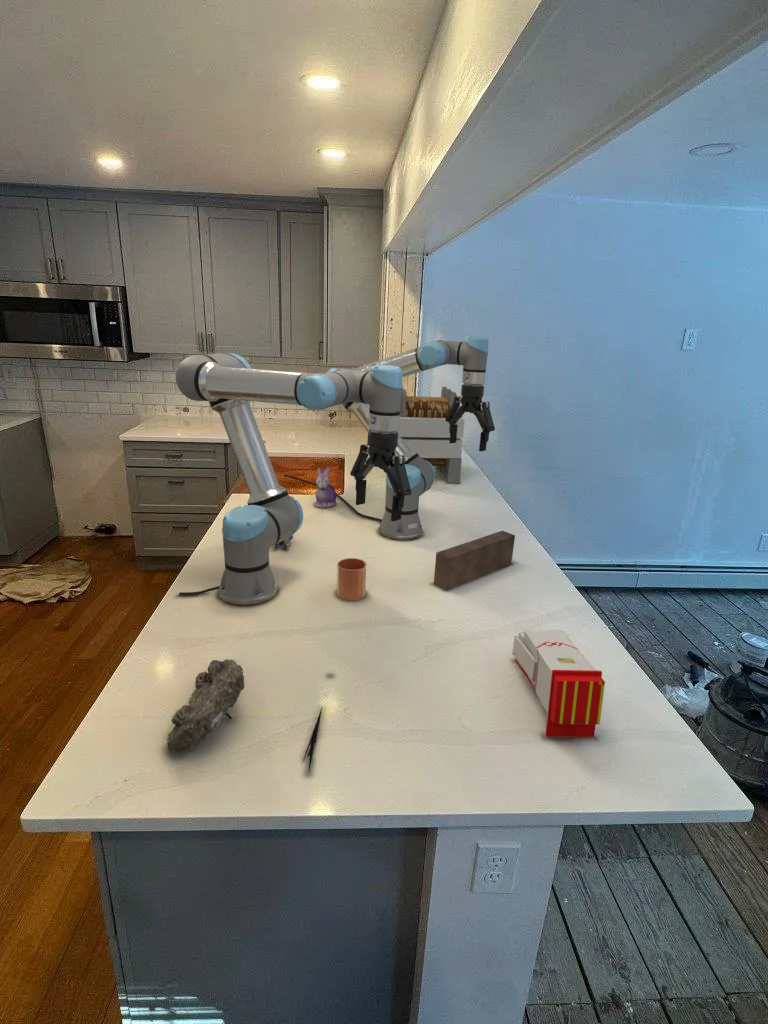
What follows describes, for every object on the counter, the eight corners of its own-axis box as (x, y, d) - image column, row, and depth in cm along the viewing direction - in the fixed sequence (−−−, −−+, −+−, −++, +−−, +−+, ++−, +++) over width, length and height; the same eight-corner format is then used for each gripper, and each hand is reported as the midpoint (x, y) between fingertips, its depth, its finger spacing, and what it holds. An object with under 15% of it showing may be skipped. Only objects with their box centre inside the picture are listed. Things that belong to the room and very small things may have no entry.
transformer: (382, 463, 289) (386, 382, 275) (445, 464, 293) (451, 384, 279) (390, 482, 257) (394, 392, 243) (460, 483, 261) (468, 394, 247)
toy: (559, 614, 131) (614, 677, 102) (553, 667, 134) (605, 744, 105) (507, 613, 131) (547, 676, 102) (503, 666, 134) (541, 743, 104)
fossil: (192, 660, 117) (244, 628, 112) (224, 691, 120) (276, 661, 115) (142, 746, 98) (202, 712, 93) (182, 779, 101) (242, 748, 96)
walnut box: (446, 590, 161) (448, 558, 158) (433, 584, 164) (436, 552, 161) (511, 564, 180) (515, 535, 176) (498, 559, 183) (502, 530, 180)
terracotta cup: (331, 592, 157) (331, 562, 154) (353, 584, 162) (354, 555, 159) (348, 603, 152) (349, 573, 149) (371, 595, 157) (372, 565, 154)
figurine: (319, 509, 219) (319, 472, 214) (309, 501, 228) (309, 465, 223) (341, 506, 224) (342, 470, 218) (331, 499, 232) (332, 463, 227)
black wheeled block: (290, 555, 182) (296, 533, 195) (289, 535, 178) (295, 513, 192) (269, 555, 181) (276, 532, 195) (268, 534, 178) (275, 513, 191)
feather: (331, 679, 122) (336, 673, 122) (307, 777, 96) (313, 769, 95) (324, 675, 122) (329, 669, 121) (298, 772, 95) (304, 764, 95)
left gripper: (339, 422, 144) (336, 500, 152) (408, 443, 128) (401, 530, 135) (361, 419, 149) (357, 495, 157) (431, 440, 133) (422, 524, 140)
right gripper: (438, 380, 196) (433, 440, 203) (495, 390, 178) (488, 455, 185) (453, 379, 200) (448, 438, 207) (510, 388, 183) (502, 452, 190)
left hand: (377, 511), depth 146 cm, fingers open, 13 cm apart
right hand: (467, 446), depth 196 cm, fingers open, 13 cm apart
